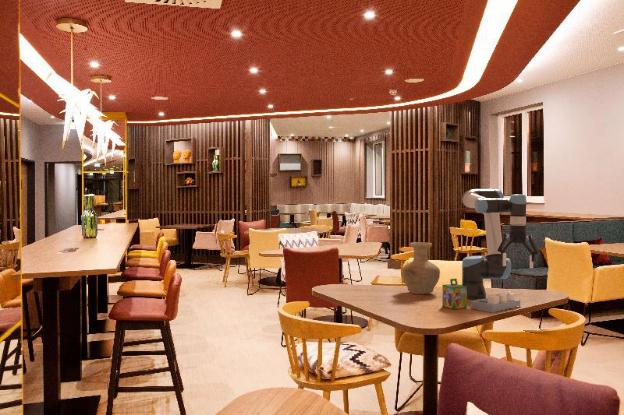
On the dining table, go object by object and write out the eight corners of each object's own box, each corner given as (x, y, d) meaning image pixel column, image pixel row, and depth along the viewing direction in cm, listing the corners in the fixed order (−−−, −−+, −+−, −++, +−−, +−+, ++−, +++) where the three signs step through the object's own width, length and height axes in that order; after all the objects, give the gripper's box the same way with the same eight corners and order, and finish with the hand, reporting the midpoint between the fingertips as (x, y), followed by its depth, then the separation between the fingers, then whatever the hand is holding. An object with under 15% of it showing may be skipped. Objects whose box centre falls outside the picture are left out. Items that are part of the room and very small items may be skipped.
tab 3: (510, 304, 275) (510, 292, 274) (503, 303, 278) (503, 291, 278) (514, 303, 277) (514, 291, 277) (507, 302, 280) (507, 290, 280)
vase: (397, 295, 309) (398, 244, 308) (405, 289, 329) (405, 241, 329) (437, 298, 301) (437, 245, 300) (442, 291, 322) (442, 242, 321)
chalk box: (454, 309, 270) (454, 280, 269) (441, 306, 278) (441, 278, 277) (467, 308, 274) (467, 279, 274) (454, 304, 282) (455, 277, 282)
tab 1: (494, 307, 266) (494, 295, 266) (487, 306, 270) (487, 294, 269) (498, 307, 268) (498, 294, 268) (491, 305, 272) (491, 293, 272)
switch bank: (492, 312, 263) (492, 305, 263) (470, 308, 274) (470, 300, 274) (520, 306, 278) (520, 299, 278) (498, 302, 288) (498, 295, 288)
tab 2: (502, 306, 270) (502, 294, 270) (495, 304, 274) (495, 293, 274) (506, 305, 273) (506, 293, 272) (499, 304, 276) (500, 292, 276)
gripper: (491, 224, 273) (490, 265, 274) (540, 226, 257) (540, 269, 257) (497, 224, 279) (496, 264, 279) (546, 225, 262) (545, 268, 262)
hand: (517, 267), depth 268 cm, fingers open, 13 cm apart
